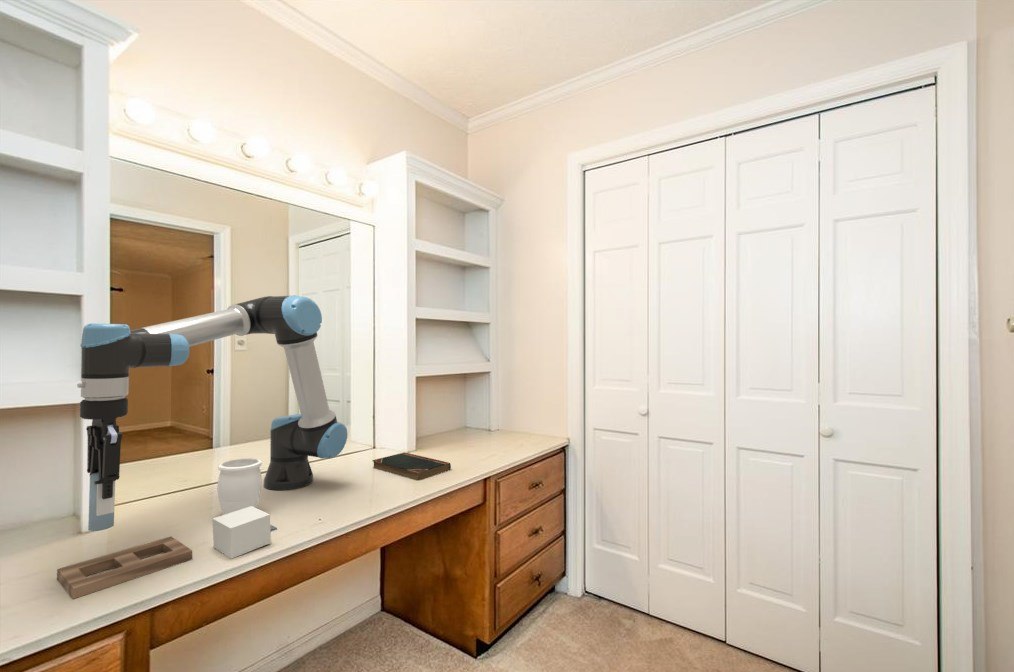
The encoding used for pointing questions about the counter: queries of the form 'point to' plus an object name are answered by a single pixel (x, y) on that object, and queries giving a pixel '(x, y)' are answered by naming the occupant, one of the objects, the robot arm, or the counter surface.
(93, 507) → the peg
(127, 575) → the socket board
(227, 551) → the cover
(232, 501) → the jar
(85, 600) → the counter surface
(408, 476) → the book
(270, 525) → the tile
